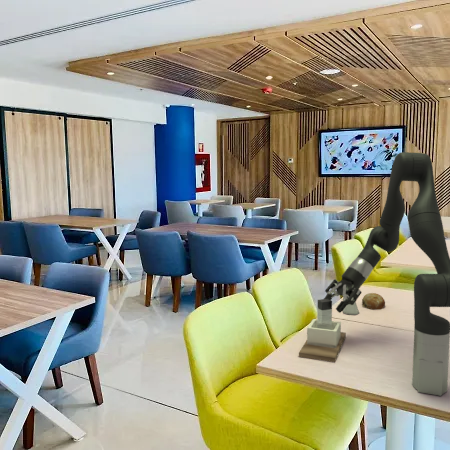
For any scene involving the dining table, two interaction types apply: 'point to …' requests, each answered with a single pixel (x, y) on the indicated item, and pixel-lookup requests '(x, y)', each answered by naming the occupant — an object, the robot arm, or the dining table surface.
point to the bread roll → (373, 301)
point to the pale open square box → (324, 335)
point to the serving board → (322, 351)
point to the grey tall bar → (324, 314)
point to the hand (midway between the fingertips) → (330, 307)
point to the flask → (351, 309)
